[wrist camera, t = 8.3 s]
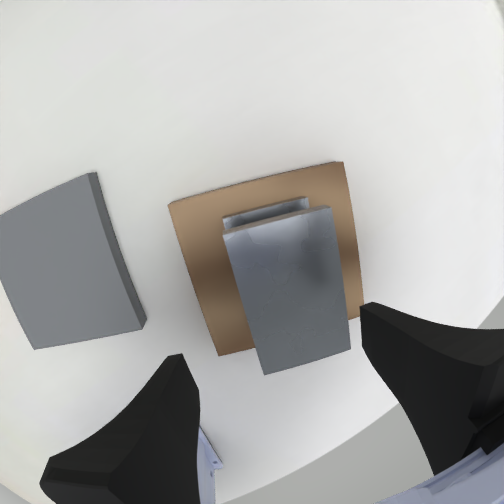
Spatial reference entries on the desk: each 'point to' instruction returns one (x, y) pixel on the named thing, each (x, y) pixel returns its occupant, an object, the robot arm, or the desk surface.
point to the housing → (289, 281)
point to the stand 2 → (216, 256)
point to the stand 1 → (66, 267)
